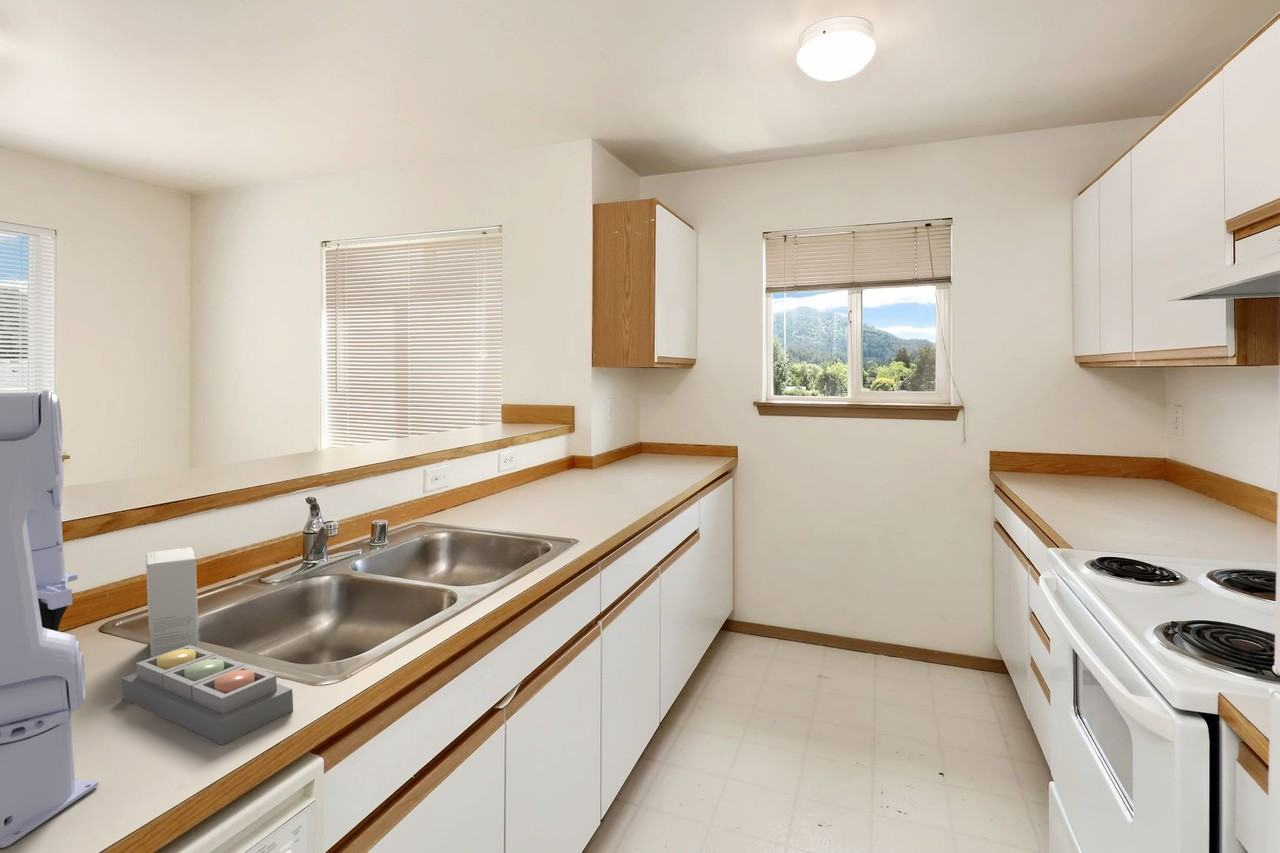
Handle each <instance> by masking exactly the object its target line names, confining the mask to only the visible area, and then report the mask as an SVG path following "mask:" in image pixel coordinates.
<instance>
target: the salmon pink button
mask: <svg viewBox="0 0 1280 853" xmlns="http://www.w3.org/2000/svg"><path fill="white" fill-rule="evenodd" d="M253 682H255V677H254V672H253V671H251V670H238V671H233V672H229V673H226V674H224V675H221V676H220V677H218V678H217V679H216V680H215V681H214V687H215V690H216V691H219V692H221V693H224V694H227V693H229V692H231V691H234V690H236V689H238V688H241V687H243V686H246V685H248V684H250V683H253Z"/></svg>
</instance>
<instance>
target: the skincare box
mask: <svg viewBox="0 0 1280 853" xmlns="http://www.w3.org/2000/svg"><path fill="white" fill-rule="evenodd" d="M195 554H196V552H195V550H194V549H193V548H192V547H191V546H188V547H182V548H181V547H180V548H173V549H167V550H166V549H165V550H158V551H151V552H147V553H146V563H145V564H146V592H147V596H146V597H147V612H148V613H147V615H148V630H149V631H148V632H149V633H148V634H149V636H148V637H149V648H150V649H149V650H150V658H153V657H155V656H158V655H161V654H164V653H167V652H170V651H173V650H176V649H179V648H182V647H185V646H188V645H192V646H195V647H197V648H199V632H198V630H199V627H198V625H199V624H198V623H199V621H198V619H199V618H198V586H197V585H198V584H197V562H196V561H197V560H196V556H195Z"/></svg>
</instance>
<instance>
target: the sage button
mask: <svg viewBox="0 0 1280 853" xmlns="http://www.w3.org/2000/svg"><path fill="white" fill-rule="evenodd" d="M223 670H224V661H223V660H220V659H209V660H204V661H200V662H196V663H194V664H192V665H190V666H188V667H187V668H185V670H184V672H185V678H187V679H189V680H192V681H197V680H200V679H202V678H205V677H207V676H210V675H212V674H215V673H218V672H220V671H223Z"/></svg>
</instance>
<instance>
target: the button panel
mask: <svg viewBox="0 0 1280 853" xmlns="http://www.w3.org/2000/svg"><path fill="white" fill-rule="evenodd" d="M182 649H192V650H195V651H196V659H195V660H192V661H189V662H186V663H184V664H181V665H178V666H175V667H173V668H170V669H167V670H164V669H162V668H159V667H157V658H158V657H160V656H161V655H163V654H161V655H158V656H155V657H153V658H151V657H150V658H147V659H144V660H142V661H138V662H135V667H136V668H135V669H136V672H134V673H132V674H128V675H126V676H123V677H121V688H122V700H124V701H127V702H129V703H132V704H134V705H135V706H136V707H137V706H138V707H140V708H142V709H144V710H146V711H148V712H151V713H153V714H154V715H157V716H159V717H161V718H163V719H165V720H167V721H170V722H171V723H174V724H176V725H177V726H180V727H183V728H185V729H187V730H189V731H190V732H193V733H195V734H198V735H199V736H202V737H204V738H206V739H208V740H210V741H211V742H215V743H216V744H219V745H221V746H224V745H227V744H228V743H230V742H233V741H234V740H237V739H239V738H240V737H243V736H244V735H246V734H249V733H251V732H253V731H255V730H257V729H259V728H261V727H263V726H265V725H267V724H269V723H271V722H273V721H276V720H277V719H279V718H282V717H283V716H286V715H287V714H290V713H291V712H293V711H294V701H293V700H294V699H293V697H294V696H293V695H294V694H293V688H290V687H288V686H285V685H282V684H279V683H278V682H277V675H276V674H273V673H271V672H267V671H265V670H262V669H259V668H256V667H254V666H251V665H248V664H245V663H242V662H239V661H238V660H237V661H236V660H233V659H231V658H229V657H225V656H222V655H220V654H216V653H215V652H211V651H209V650H205V649H202V648H200V647H198V648H197V647H195V646H192V645H188V646H185V647H182V648H179V649H176V650H182ZM176 650H173V651H176ZM170 652H172V651H170ZM167 653H169V652H167ZM164 654H166V653H164ZM209 659H220V660H223V661H224V670H223V671H220V672H218V673H215V674H212V675H210V676H207V677H205V678H202V679H200V680H197V681H192V680H189V679H187V678H185V672H184V670H185V668H187V667H188V666H190V665H192V664H194V663H196V662H200V661H204V660H209ZM238 670H251V671H253V672H254V677H255V682H253V683H250V684H248V685H246V686H243V687H241V688H238V689H236V690H234V691H231V692H229V693H227V694H224V693H221V692H219V691H216V690H215V687H214V681H215V680H216V679H217V678H218V677H220V676H221V675H224V674H226V673H229V672H233V671H238ZM250 731H251V732H250ZM248 732H249V733H248Z"/></svg>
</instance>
